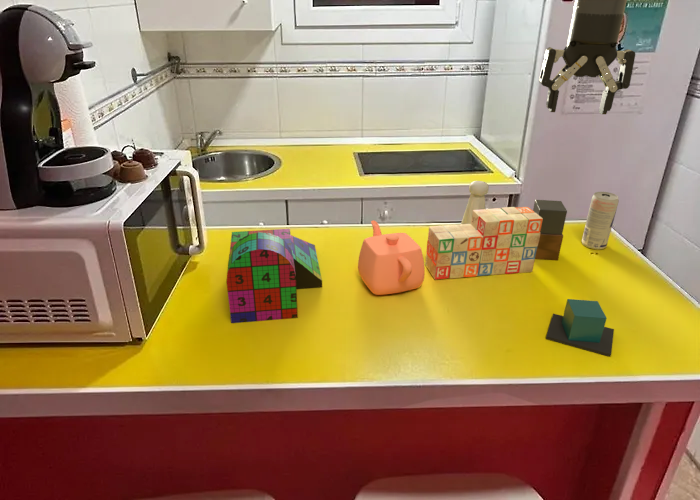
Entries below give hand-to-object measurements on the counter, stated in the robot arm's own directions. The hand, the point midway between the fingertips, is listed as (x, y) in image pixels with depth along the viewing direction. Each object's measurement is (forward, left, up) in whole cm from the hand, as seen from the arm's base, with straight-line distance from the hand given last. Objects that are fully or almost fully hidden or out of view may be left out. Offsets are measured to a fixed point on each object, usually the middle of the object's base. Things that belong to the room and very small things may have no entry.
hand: (577, 112), depth 91 cm
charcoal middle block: (+2, -10, -27) cm, 29 cm away
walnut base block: (+2, -10, -33) cm, 35 cm away
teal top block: (-9, +18, -32) cm, 38 cm away
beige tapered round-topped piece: (+18, -12, -33) cm, 40 cm away
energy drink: (-8, -20, -33) cm, 40 cm away
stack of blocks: (+12, +4, -33) cm, 36 cm away
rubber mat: (-9, +18, -33) cm, 39 cm away
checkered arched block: (+46, +28, -33) cm, 63 cm away
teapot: (+27, +17, -33) cm, 46 cm away
